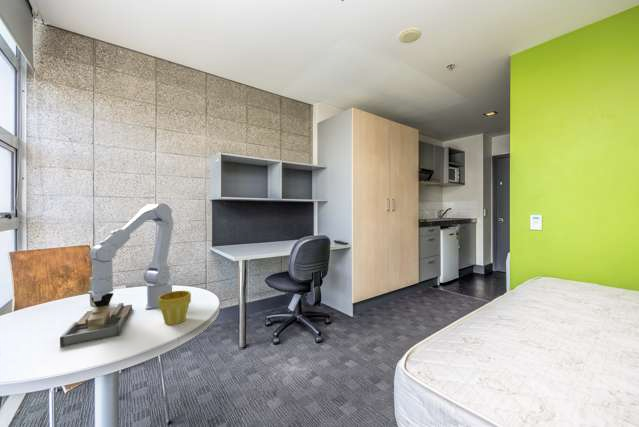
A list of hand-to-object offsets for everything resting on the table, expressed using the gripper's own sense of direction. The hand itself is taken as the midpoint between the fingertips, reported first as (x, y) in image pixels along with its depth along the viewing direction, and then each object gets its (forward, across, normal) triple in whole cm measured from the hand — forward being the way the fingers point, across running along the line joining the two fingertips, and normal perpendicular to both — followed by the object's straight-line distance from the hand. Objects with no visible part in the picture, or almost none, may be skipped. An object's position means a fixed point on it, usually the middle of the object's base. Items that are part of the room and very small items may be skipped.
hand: (103, 315), depth 93 cm
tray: (+3, +9, 0) cm, 10 cm away
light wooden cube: (+1, +2, 0) cm, 2 cm away
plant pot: (+3, +12, +23) cm, 26 cm away
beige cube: (+2, +6, 0) cm, 6 cm away
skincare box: (+3, -26, -7) cm, 27 cm away
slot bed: (+3, -4, 0) cm, 5 cm away
